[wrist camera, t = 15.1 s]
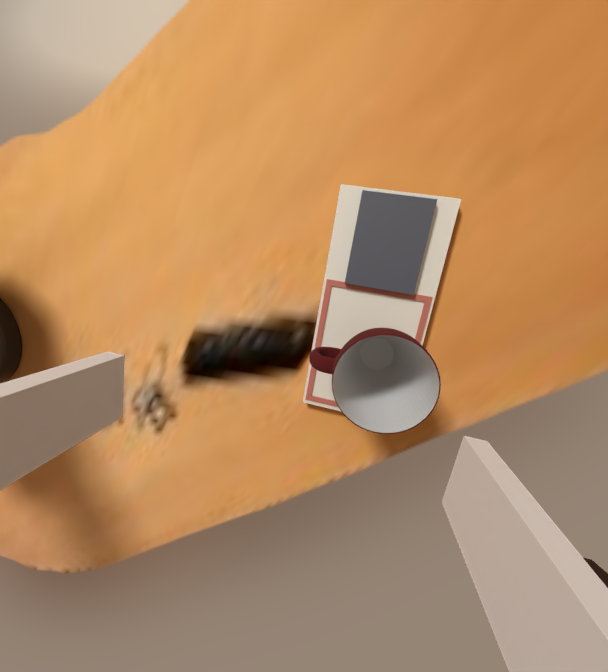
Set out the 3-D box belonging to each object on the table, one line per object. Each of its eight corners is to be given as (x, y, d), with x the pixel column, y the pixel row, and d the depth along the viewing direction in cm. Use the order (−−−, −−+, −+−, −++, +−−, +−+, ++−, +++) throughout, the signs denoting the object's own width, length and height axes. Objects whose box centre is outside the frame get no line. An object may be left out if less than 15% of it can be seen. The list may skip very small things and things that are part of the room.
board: (304, 398, 35) (301, 405, 33) (341, 187, 30) (340, 181, 28) (399, 420, 34) (402, 429, 32) (457, 202, 28) (464, 196, 26)
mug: (318, 385, 33) (301, 428, 24) (316, 316, 32) (298, 332, 22) (413, 389, 31) (437, 438, 22) (417, 316, 30) (444, 333, 20)
